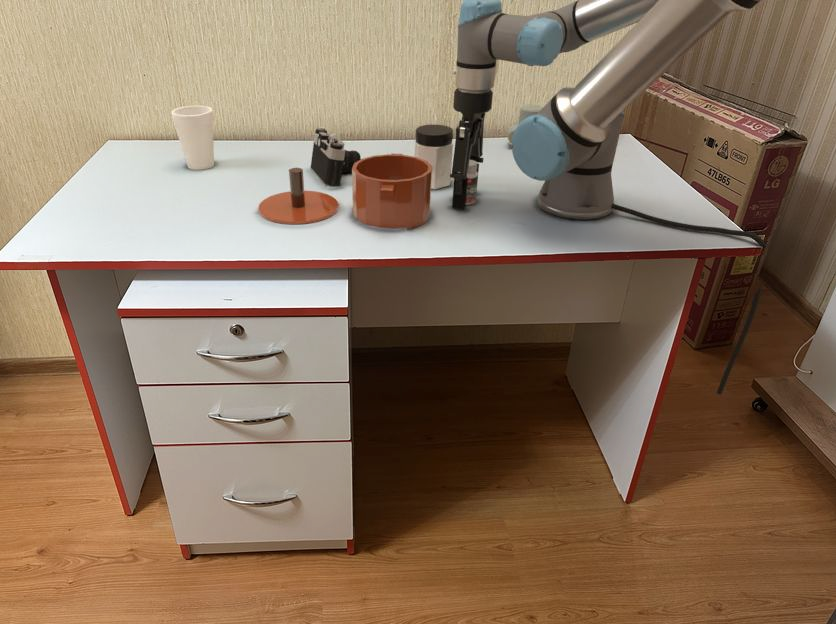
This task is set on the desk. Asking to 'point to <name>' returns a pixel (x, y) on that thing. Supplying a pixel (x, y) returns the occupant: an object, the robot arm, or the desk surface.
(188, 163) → the foam cup
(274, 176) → the desk surface
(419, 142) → the jar
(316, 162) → the camera
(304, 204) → the lid
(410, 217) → the pot
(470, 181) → the pill bottle
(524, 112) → the air freshener
